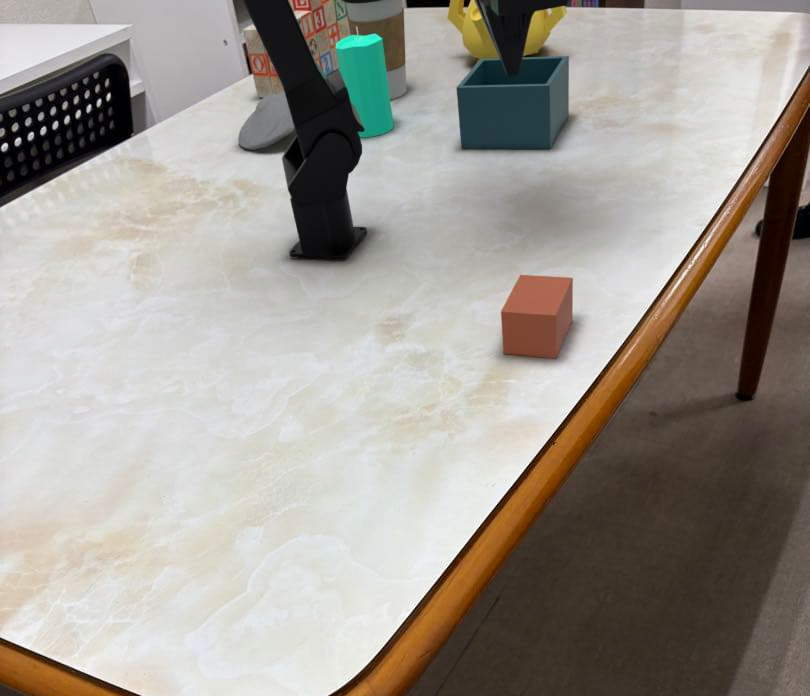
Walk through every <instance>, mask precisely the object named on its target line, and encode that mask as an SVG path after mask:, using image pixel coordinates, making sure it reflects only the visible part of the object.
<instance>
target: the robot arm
mask: <svg viewBox="0 0 810 696" xmlns="http://www.w3.org/2000/svg"><path fill="white" fill-rule="evenodd" d="M474 1H475V3H476V5H477V8H478V10H479V12H480V14H481V17H482V19H483V21H484V24H485V26H486V28H487V31H488V33H489V35H490V37H491V40H492V42H493V44H494V47H495V49H496V51H497V54H498V56H499V59H500V61H501V63H502V66H503V68H504V70H505V73H506V74H507V76H508V77H512V76H517V75H518V74H519V72H520V68H521V63H522V58H523V57H524V56H523V54H524V49H525V44H526V40H527V35H528V31H529V27H530V23H531V19H532V16H533V14H534V13H535V11H540V10H545V9H547V10H551V8H556V7H561V6H565V7H566V6H568V5H570V4H572V3H573V2H572V0H474ZM242 3H243V4H244V7H245V9H246V11H247V13H248V15H249V17H250V19H251V22H252V23H253V24H254V26H255V28H256V30H257V32H258V34H259V36H260V38H261V41H262V43H263V45H264V47H265V49H266V51H267V53H268V56H269V58H270V60H271V62H272V64H273V66H274V68H275V70H276V73H277V75H278V77H279V79H280V81H281V83H282V86H283V89H284V92H285V96H286V99H287V103H288V106H289V110H290V113H291V117H292V121H293V124H294V128H295V130H294V131H295V134H296V135H295V136H294V137H293V139H292V140H291V142H290V144H289V145H288V147H287V148H286V150H285V152H284V154H283V155H282V156H281V162H282V167H283V172H284V176H285V181H286V187H287V191H288V193H289V195H290V198H289V201H290V205H291V209H292V214H293V219H294V223H295V228H296V233H297V236H298V241H297V242H296V243H295V245H294V246H293V247H292V248H291V249H290V250H289V251H288V253H289V257H290V258H295V259H297V258H299V259H316V260H332V261H333V260H334V261H335V260H337V261H343V260H346V259H347V258H348V257H349V256H350V254H351V253H352V252H353V251H354V249H355V248H356V247H357V246H358V245H359V243H360V242H361V241H362V240H363V238H365V236H366V234H368V227H366V226H354V221H353V217H352V216H353V215H352V210H351V205H350V200H349V194H348V189H347V187H348V181H349V177H350V176H349V175H350V174H351V173H352V172H353V171H354V170H355V169H356V167H357V166H358V165H359V162H360V160H361V157H362V155H363V144H362V140H361V137H360V136H359V133H358V132H364V131H365V129H364V126H363V124H362V122H361V119H360V117H359V115H358V112H357V110H356V107H355V106H354V105H353V104H352V103H351V102H350V98H349V94H348V90H347V87H346V85H345V82H344V80H343V78H342V75H341V73H340V69H337V70H335V71H333V72H332V73H331V74H329V75H327V76H326V75H325V73H324V72H323V71H322V69H321V68H320V66H319V65H318V63H317V62H316V60H315V59H314V57H313V55H312V53H311V50H310V48H309V46H308V43H307V41H306V39H305V36H304V34H303V32H302V30H301V27H300V25H299V23H298V20H297V18H296V16H295V13H294V11H293V9H292V7H291V4H290V2H289V0H242ZM253 24H252V25H253Z"/></svg>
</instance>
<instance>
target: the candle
mask: <svg viewBox="0 0 810 696" xmlns="http://www.w3.org/2000/svg"><path fill="white" fill-rule="evenodd" d="M356 29H357V35H351V36H349V37H346V38H344V39H342V40H340V41H339V42H338V43H336V51H337V57H338V63H339V68H338V70H339V71H340V73H341V75H342V78H343V80H344V82H345V85H346V87H347V90H348V94H349V98H350V102H351V103H352V104H353V105H354V106H355V107H356V110H357V112H358V115H359V117H360V119H361V122H362V124H363V126H364V129H365V131H364V132H358V133H359V136H360V138H372V137H377V136H378V137H379V136H381V135H384V134H386V133H387V134H388V133H389V132H390V131H392V129H394V128H395V125H394V118H393V117H394V116H393V111H392V104H391V99H390V94H389V87H388V79H387V71H386V64H385V56H384V49H383V41H382V38H381V37H379V36H378V35H377V34H371V35H366V36H359V35H358V28H357V27H356Z"/></svg>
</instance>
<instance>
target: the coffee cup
mask: <svg viewBox="0 0 810 696" xmlns="http://www.w3.org/2000/svg"><path fill="white" fill-rule="evenodd" d="M342 1H344V2H346V7H347V12H348V23H349V27H350V31H351V35H357V29H356V27H357V28H358V35H359V36H366V35H371V34H377V35H378V36H379V37H381V38H382V41H383V49H384V56H385V64H386V71H387V79H388V87H389V94H390V100H394V99H397V98H400V97H401V96H404V95H405V94H406V93H407V87H408V86H407V71H406V69H407V68H406V35H405V34H406V33H405V8H404V7H403V0H342Z"/></svg>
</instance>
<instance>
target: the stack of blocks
mask: <svg viewBox="0 0 810 696" xmlns="http://www.w3.org/2000/svg"><path fill="white" fill-rule="evenodd" d="M289 2H290V4H291V7H292V9H293V11H294V13H295V16H296V18H297V20H298V23H299V25H300V27H301V30H302V32H303V34H304V36H305V39H306V41H307V43H308V46H309V48H310V50H311V53H312V55H313V57H314V59H315V60H316V62H317V63H318V65H319V66H320V68H321V69H322V71H323V72H324V73H325V75H326V76H327V77H328V76H330V75H331V74H333V73H334V72H335V71H337V70H339V63H338V57H337V51H336V43H338V42H339V41H340V40H342V39H344V38H346V37H349V36H351V31H350V27H349V23H348V12H347V7H346V2H344V1H342V0H289ZM242 31H243V36H244V37H243V38H244V40H245V44H246V45H245V46H246V49H247V57H248V61H249V66H250V70H251V75H252V76H253V77H252V78H253V81H254V87H255V91H256V94H257V95H256V96H257V98H264V97H265V96H267V95H269V94H278V93H280V92H282V91H284V89H283V86H282V83H281V81H280V79H279V77H278V75H277V73H276V70H275V68H274V66H273V64H272V62H271V60H270V58H269V56H268V53H267V51H266V49H265V47H264V45H263V43H262V41H261V38H260V36H259V34H258V32H257V30H256V28H255V26H254V24H251V25H249V26H247V27H245V28H243V30H242Z"/></svg>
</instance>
